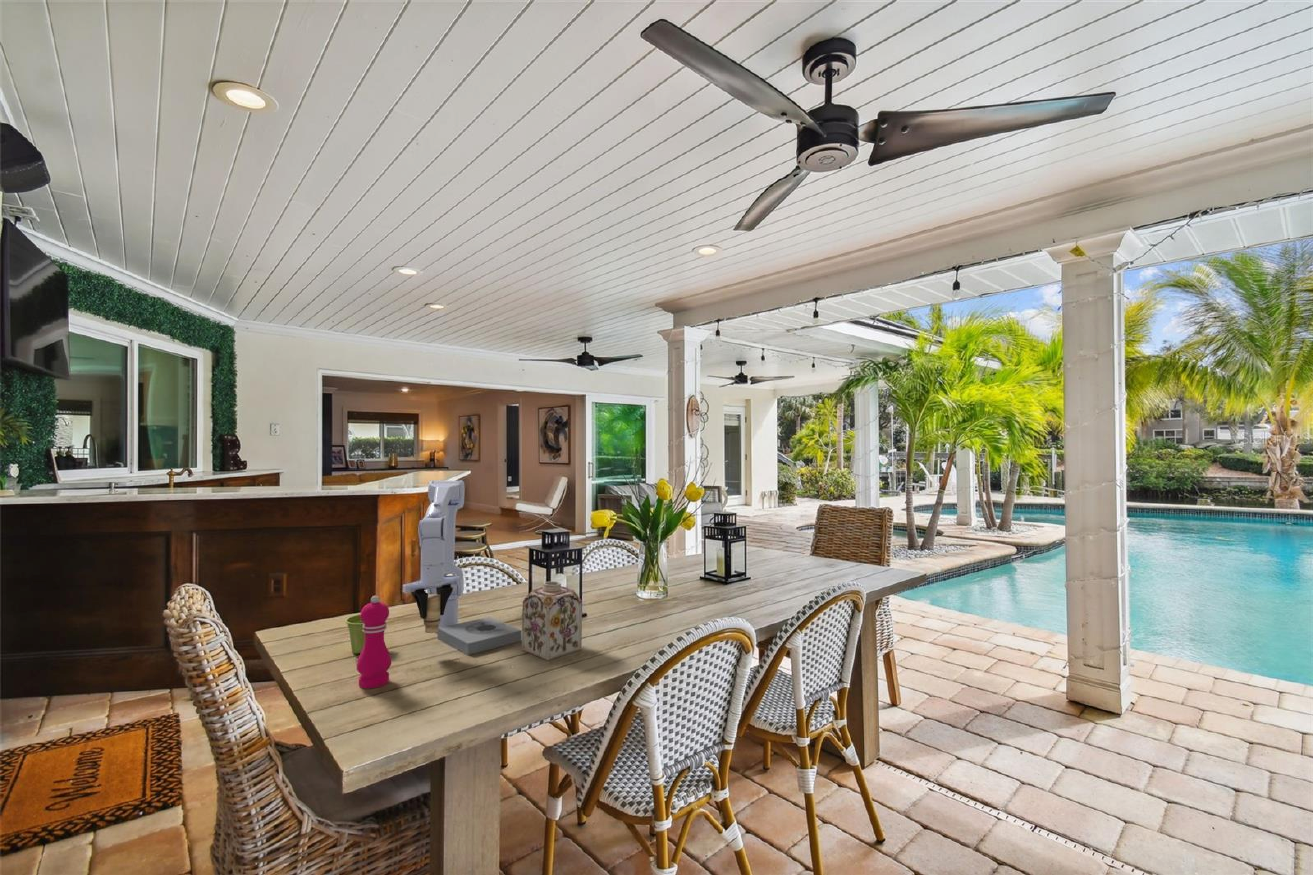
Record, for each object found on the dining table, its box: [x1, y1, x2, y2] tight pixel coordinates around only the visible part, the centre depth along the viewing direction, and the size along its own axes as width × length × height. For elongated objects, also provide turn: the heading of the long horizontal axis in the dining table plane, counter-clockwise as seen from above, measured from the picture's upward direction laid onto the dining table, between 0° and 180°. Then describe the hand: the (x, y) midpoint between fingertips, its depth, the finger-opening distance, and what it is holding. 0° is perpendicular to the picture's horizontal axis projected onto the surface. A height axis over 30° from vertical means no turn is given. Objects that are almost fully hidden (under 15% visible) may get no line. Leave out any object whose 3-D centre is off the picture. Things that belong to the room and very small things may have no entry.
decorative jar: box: [521, 580, 583, 661], centre depth 158 cm, size 12×12×18 cm
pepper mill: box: [356, 595, 392, 689], centre depth 135 cm, size 7×7×20 cm
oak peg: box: [423, 594, 440, 634], centre depth 153 cm, size 4×4×9 cm
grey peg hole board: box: [437, 616, 522, 656], centre depth 166 cm, size 18×16×3 cm
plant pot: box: [345, 613, 365, 655], centre depth 157 cm, size 9×9×9 cm
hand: (431, 616), depth 153 cm, fingers closed on oak peg, 4 cm apart
